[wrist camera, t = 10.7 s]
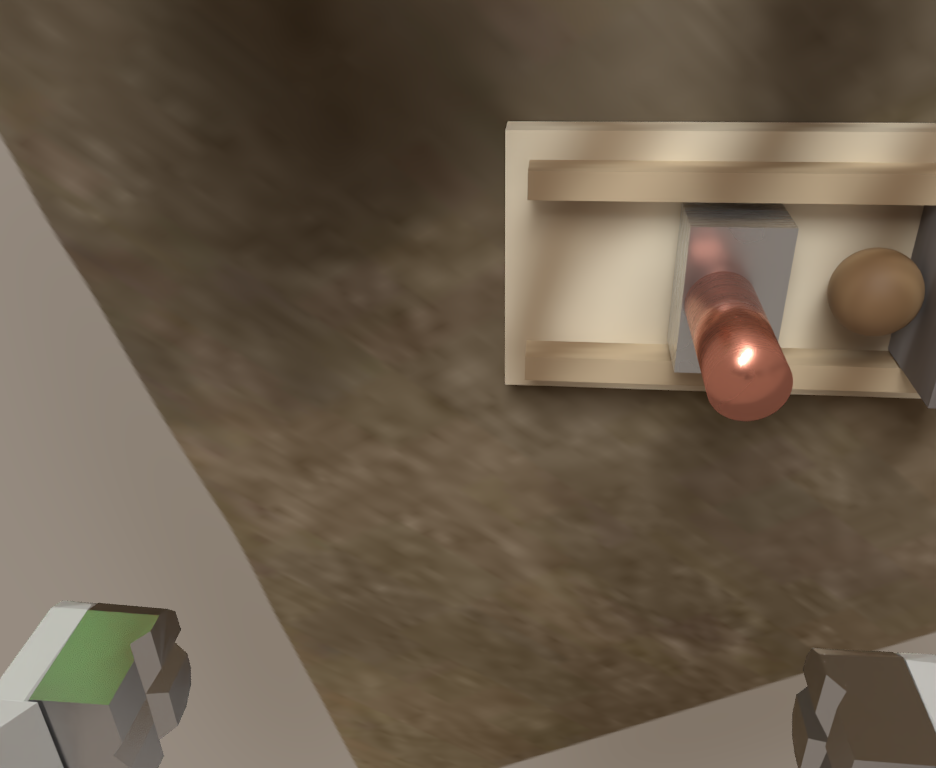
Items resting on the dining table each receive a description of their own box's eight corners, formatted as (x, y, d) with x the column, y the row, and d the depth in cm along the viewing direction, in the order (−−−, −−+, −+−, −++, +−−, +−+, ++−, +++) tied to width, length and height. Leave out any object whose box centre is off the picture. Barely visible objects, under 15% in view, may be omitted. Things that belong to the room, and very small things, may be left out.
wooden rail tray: (1007, 123, 34) (1092, 170, 29) (932, 382, 40) (990, 463, 35) (507, 121, 36) (496, 165, 31) (506, 368, 42) (497, 443, 37)
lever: (781, 202, 35) (845, 300, 27) (758, 342, 38) (809, 467, 30) (682, 201, 35) (715, 297, 27) (667, 339, 39) (692, 462, 30)
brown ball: (916, 235, 35) (949, 269, 32) (896, 314, 37) (926, 353, 34) (826, 233, 36) (850, 267, 33) (810, 311, 38) (832, 350, 35)
